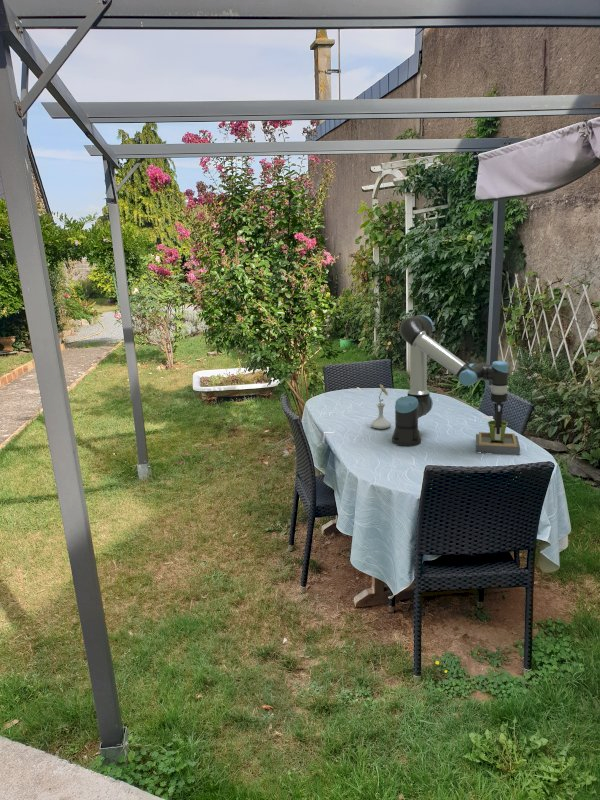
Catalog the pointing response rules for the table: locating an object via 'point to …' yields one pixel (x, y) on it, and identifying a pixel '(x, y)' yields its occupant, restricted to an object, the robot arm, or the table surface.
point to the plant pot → (492, 429)
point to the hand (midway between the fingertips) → (497, 436)
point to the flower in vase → (381, 414)
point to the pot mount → (497, 444)
